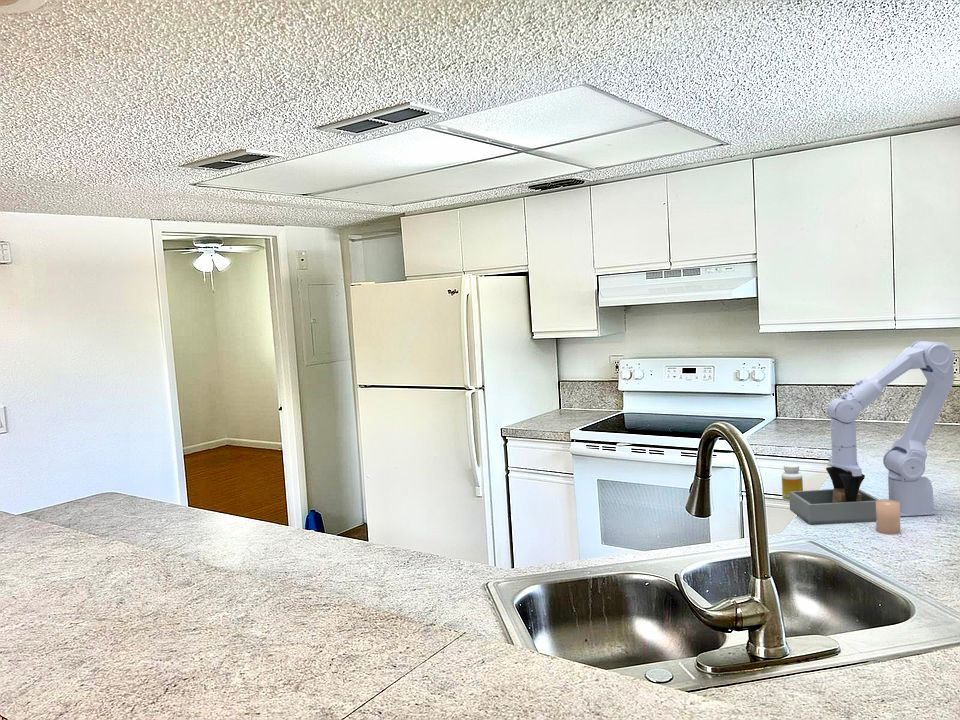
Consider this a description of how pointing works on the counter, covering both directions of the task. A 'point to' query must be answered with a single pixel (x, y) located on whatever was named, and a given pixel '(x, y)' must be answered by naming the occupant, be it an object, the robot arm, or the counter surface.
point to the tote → (831, 507)
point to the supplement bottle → (791, 480)
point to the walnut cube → (842, 496)
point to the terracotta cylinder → (887, 516)
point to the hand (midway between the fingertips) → (845, 497)
